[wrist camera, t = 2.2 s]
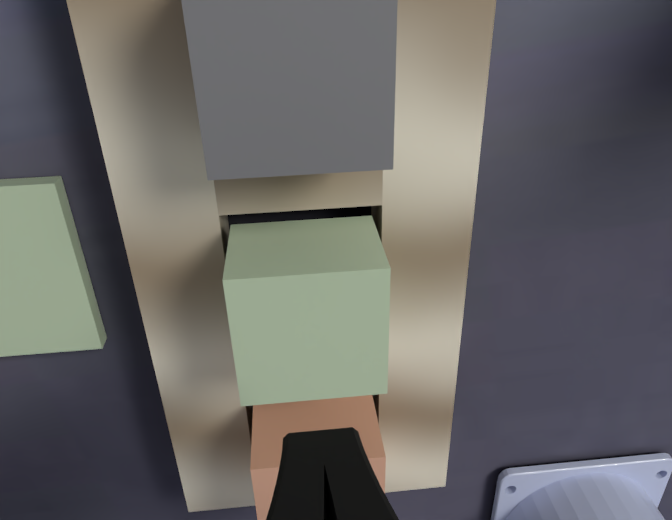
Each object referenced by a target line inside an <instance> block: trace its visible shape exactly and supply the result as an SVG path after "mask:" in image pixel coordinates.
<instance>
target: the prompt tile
mask: <svg viewBox="0 0 672 520" xmlns="http://www.w3.org/2000/svg"><path fill="white" fill-rule="evenodd" d="M106 339H107V336H106V333H105V329H104V326H103V322H102V319H101V315H100V312H99V308H98V305H97V301H96V298H95V294H94V290H93V287H92V283H91V280H90V276H89V273H88V269H87V266H86V262H85V259H84V255H83V252H82V248H81V245H80V241H79V237H78V234H77V230H76V227H75V223H74V220H73V216H72V213H71V209H70V206H69V202H68V199H67V195H66V191H65V188H64V184H63V181H62V177H61V176H51V177H34V178H16V179H0V357H3V356H16V355H29V354H41V353H54V352H66V351H79V350H92V349H102V348H103V346H104V344H105V341H106Z"/></svg>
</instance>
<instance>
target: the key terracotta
mask: <svg viewBox="0 0 672 520" xmlns="http://www.w3.org/2000/svg"><path fill="white" fill-rule="evenodd" d="M349 427H353V428H354V429H356V430H357V431H358V432H359V436H360V439H361V442H362V445H363V447H364V450H365V452H366V455H367V457H368V460H369V462H370V464H371V467H372V469H373V471H374V473H375V475H376V477H377V479H378V481H379V483H380V486H381V488H382V490H383V492H384V493H385V468H386V456H385V451H384V446H383V442H382V437H381V433H380V428H379V423H378V419H377V414H376V410H375V405H374V401H373V396H372V395H365V396H354V397H343V398H331V399H320V400H308V401H297V402H286V403H274V404H263V405H253V418H252V442H251V465H250V471H251V478H252V485H253V492H254V499H255V505H256V512H257V519H258V520H266V518H267V514H268V511H269V508H270V504H271V501H272V497H273V493H274V489H275V485H276V481H277V476H278V472H279V466H280V461H281V454H282V444H283V438H284V437H285V436H286V435H287V434H288V433H295V432H305V431H316V430H327V429H338V428H349Z"/></svg>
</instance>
